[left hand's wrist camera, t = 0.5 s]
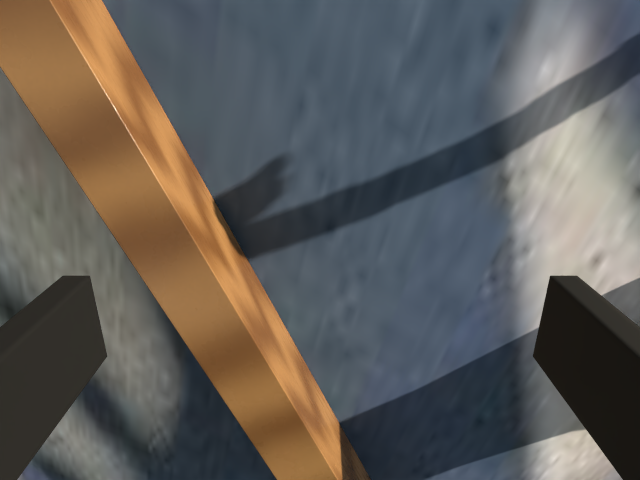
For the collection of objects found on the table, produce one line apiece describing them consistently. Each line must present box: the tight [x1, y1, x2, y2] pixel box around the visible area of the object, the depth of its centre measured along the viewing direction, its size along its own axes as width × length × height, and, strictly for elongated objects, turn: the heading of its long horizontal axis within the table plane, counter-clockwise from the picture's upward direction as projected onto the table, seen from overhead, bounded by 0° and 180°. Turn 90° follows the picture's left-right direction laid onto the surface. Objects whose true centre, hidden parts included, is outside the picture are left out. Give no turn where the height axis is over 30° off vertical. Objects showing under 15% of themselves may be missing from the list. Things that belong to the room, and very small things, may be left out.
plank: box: [0, 0, 371, 480], centre depth 36 cm, size 57×5×7 cm, turn 24°
